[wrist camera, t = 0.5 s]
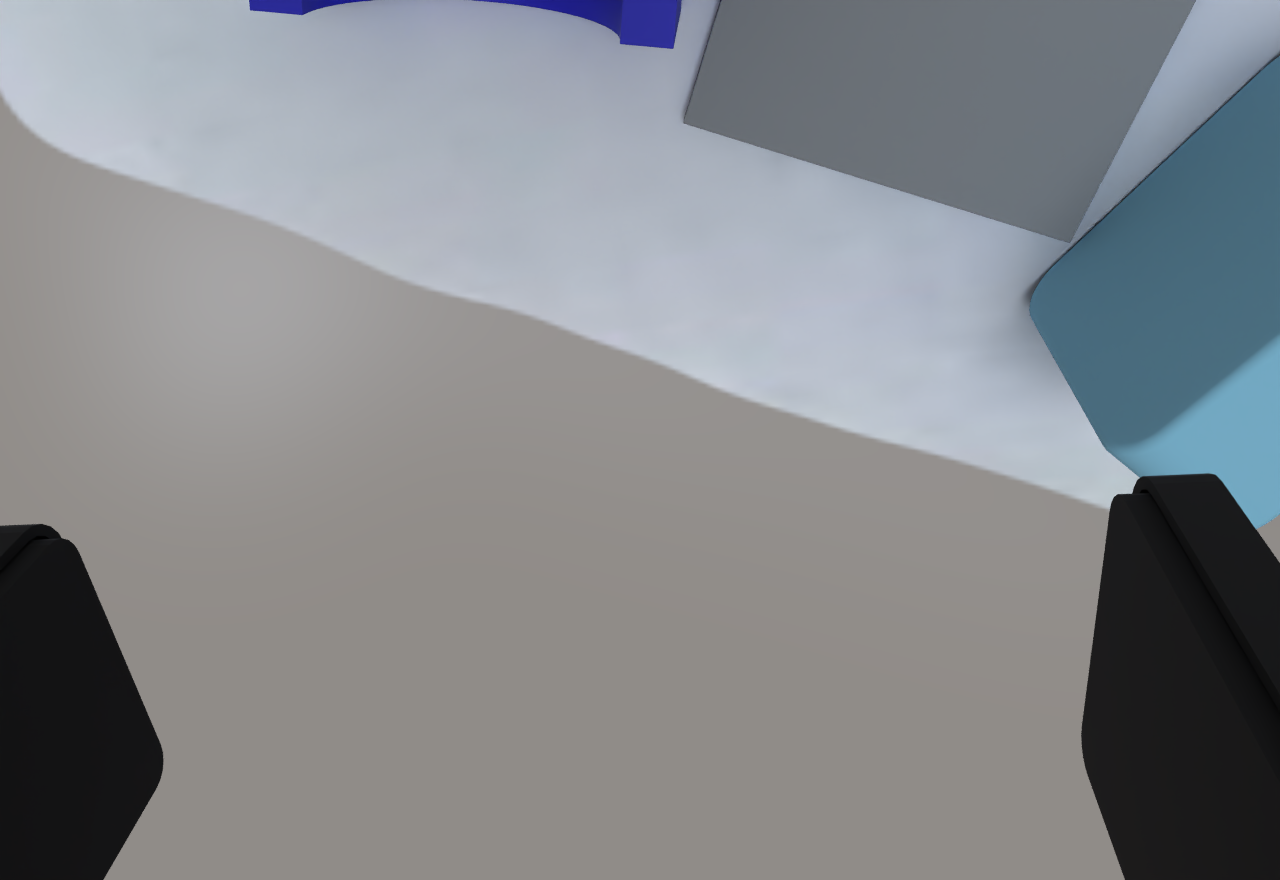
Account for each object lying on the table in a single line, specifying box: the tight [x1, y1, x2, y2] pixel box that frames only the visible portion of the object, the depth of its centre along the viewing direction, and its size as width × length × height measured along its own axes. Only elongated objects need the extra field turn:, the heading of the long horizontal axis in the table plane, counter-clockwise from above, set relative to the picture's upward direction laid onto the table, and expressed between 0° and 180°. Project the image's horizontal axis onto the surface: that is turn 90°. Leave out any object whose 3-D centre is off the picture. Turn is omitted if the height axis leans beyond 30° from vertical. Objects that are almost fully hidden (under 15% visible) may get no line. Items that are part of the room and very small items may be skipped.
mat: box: [684, 0, 1196, 243], centre depth 36 cm, size 14×10×1 cm
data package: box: [1029, 56, 1280, 529], centre depth 33 cm, size 12×4×12 cm, turn 142°
